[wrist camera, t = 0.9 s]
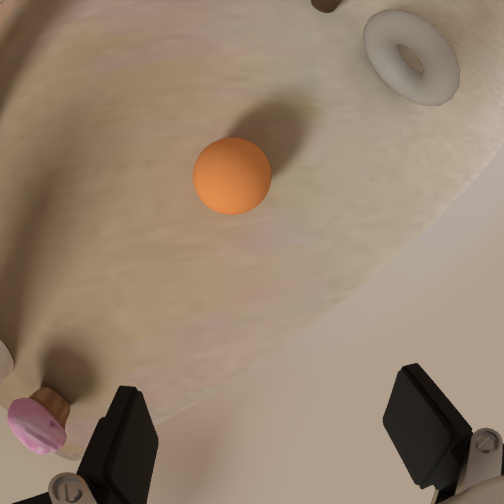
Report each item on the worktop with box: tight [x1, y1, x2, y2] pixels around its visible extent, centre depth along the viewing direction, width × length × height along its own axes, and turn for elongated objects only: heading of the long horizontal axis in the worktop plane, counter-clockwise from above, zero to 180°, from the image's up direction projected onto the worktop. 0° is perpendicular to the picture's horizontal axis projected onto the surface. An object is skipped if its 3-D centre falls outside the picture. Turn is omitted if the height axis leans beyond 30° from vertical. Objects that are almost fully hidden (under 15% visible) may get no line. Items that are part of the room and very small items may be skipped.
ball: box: [193, 138, 271, 215], centre depth 22 cm, size 6×6×6 cm
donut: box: [363, 10, 460, 106], centre depth 18 cm, size 10×4×10 cm, turn 43°
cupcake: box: [7, 387, 70, 455], centre depth 26 cm, size 9×9×10 cm
